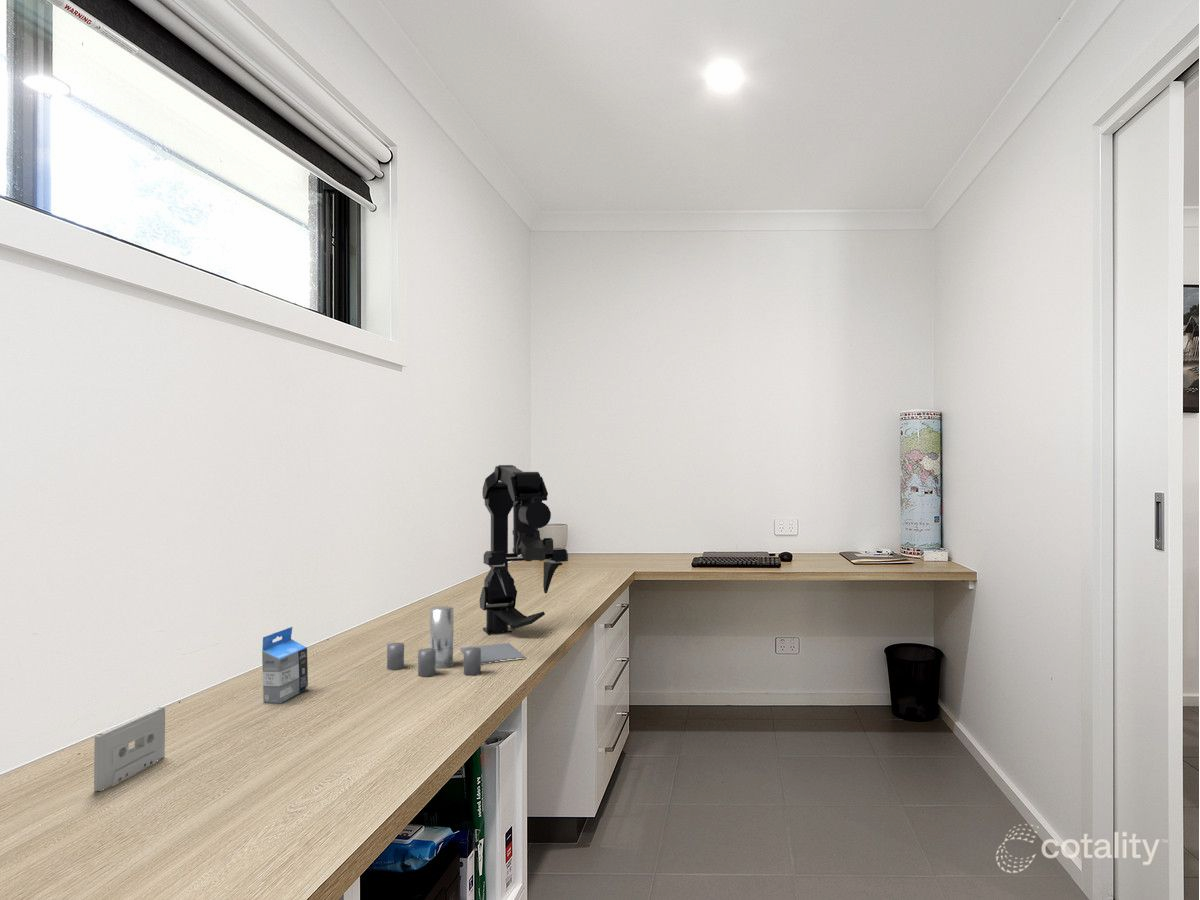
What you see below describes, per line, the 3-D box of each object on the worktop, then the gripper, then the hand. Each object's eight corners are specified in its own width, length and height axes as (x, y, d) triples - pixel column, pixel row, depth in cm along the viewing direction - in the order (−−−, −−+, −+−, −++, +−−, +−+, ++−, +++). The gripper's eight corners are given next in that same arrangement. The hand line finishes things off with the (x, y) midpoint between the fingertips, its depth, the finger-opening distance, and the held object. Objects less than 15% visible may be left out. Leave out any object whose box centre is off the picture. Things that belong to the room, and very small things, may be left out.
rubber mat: (460, 649, 173) (460, 647, 173) (508, 644, 177) (508, 642, 177) (473, 664, 160) (473, 662, 160) (525, 659, 164) (525, 656, 164)
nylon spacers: (392, 664, 160) (392, 642, 160) (483, 671, 155) (483, 647, 155) (376, 673, 153) (376, 649, 154) (470, 680, 148) (470, 655, 148)
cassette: (157, 756, 110) (157, 706, 110) (168, 757, 110) (168, 706, 110) (90, 792, 98) (90, 735, 98) (102, 793, 98) (102, 736, 98)
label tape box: (280, 704, 134) (280, 637, 134) (261, 703, 135) (261, 636, 135) (308, 689, 142) (309, 627, 143) (290, 688, 143) (290, 626, 143)
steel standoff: (428, 663, 161) (428, 607, 161) (450, 661, 163) (450, 605, 163) (432, 669, 156) (432, 611, 156) (455, 667, 158) (455, 609, 158)
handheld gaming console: (530, 634, 182) (532, 620, 182) (491, 625, 185) (493, 612, 185) (543, 624, 193) (545, 611, 193) (507, 616, 195) (508, 603, 195)
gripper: (494, 529, 155) (494, 602, 155) (575, 526, 162) (576, 596, 162) (482, 526, 166) (483, 595, 165) (560, 524, 173) (560, 589, 172)
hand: (526, 594), depth 166 cm, fingers open, 9 cm apart
